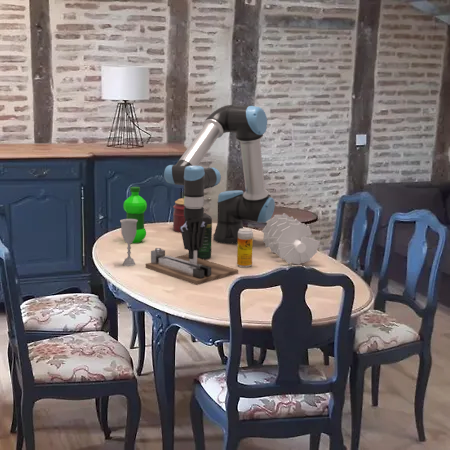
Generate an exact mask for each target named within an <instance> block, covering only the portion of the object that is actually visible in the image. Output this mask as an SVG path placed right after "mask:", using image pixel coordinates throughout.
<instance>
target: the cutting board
mask: <svg viewBox="0 0 450 450" xmlns="http://www.w3.org/2000/svg"><path fill="white" fill-rule="evenodd" d="M174 257H175V258H179V259H182V260H186V261H190V259H189V254H183V255H179V256H178V255H177V256H174ZM197 264H201V265H204V266H208V267H211V275H210V276H205V275H204V278H202V279H199V278H196V277H193V276H190V275H187V274H184V273H181V272H177V271H174V270H171V269H168V268H165V267H162V266H159V264H156V265H155V264H152V263H151V262H148V263H145V268H146V269H148V270H149V269H150V270H152V271H154V272H157V273H161V274H164V275H167V276H170V277H173V278H175V279H178V280H181V281H184V282H188V283H191V284H193V285H201V284H206V283H208V282H212V281H216V280H219V279H223V278H227V277H231V276H234V275H237V274H239V269H237V268H234V267H231V266H230V267H229V266H227V265H223V264H220V263H216V262H215V261H214V262H213V261H210V260H208V259H207V260H206V259H200V258H197Z"/></svg>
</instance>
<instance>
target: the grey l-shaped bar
mask: <svg viewBox="0 0 450 450" xmlns="http://www.w3.org/2000/svg"><path fill="white" fill-rule="evenodd" d="M164 256H166V250H165V249H162V248H160V247H156V248H155V249H154V250H151V251H150V263H152V264H155V265H156V264H159V266H162V267H165V268H168V269H171V270H174V271H177V272H181V273H184V274H187V275H190V276H193V277H196V278H199V279H202V278H204V270H202V269H199V268H196V267H192V266H189V265H186V264H183V263H180V262H176V261H173V260H170V259H167V258H164Z"/></svg>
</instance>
